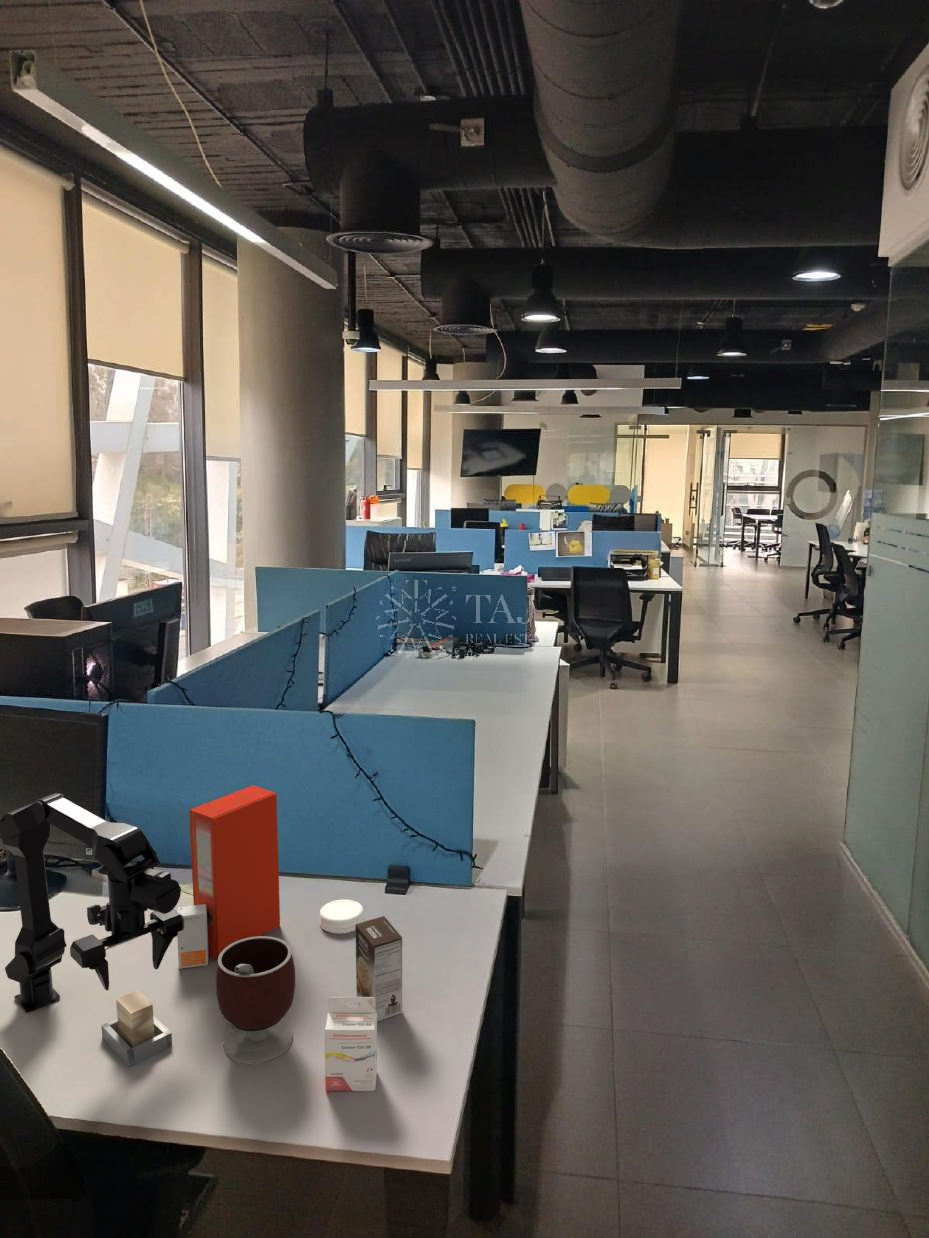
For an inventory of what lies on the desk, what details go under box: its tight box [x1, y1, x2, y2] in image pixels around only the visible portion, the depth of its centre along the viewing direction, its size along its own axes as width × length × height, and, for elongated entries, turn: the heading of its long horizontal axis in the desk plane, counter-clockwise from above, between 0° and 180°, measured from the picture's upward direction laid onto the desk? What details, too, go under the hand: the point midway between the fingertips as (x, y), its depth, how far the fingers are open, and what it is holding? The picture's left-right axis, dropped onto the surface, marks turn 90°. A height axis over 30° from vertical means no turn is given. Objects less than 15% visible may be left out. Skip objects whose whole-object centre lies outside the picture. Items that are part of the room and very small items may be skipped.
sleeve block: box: [115, 989, 155, 1048], centre depth 158 cm, size 4×6×8 cm, turn 45°
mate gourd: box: [215, 935, 296, 1065], centre depth 157 cm, size 16×14×20 cm
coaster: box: [319, 899, 365, 935], centre depth 200 cm, size 10×10×4 cm
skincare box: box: [176, 904, 209, 970], centre depth 183 cm, size 6×4×12 cm
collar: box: [101, 1015, 173, 1067], centre depth 159 cm, size 11×8×2 cm
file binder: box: [188, 785, 281, 961], centre depth 191 cm, size 8×17×32 cm, turn 145°
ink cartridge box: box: [324, 996, 378, 1092], centre depth 148 cm, size 9×5×15 cm, turn 92°
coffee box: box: [355, 915, 403, 1022], centre depth 168 cm, size 9×6×16 cm
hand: (131, 978), depth 158 cm, fingers open, 9 cm apart
